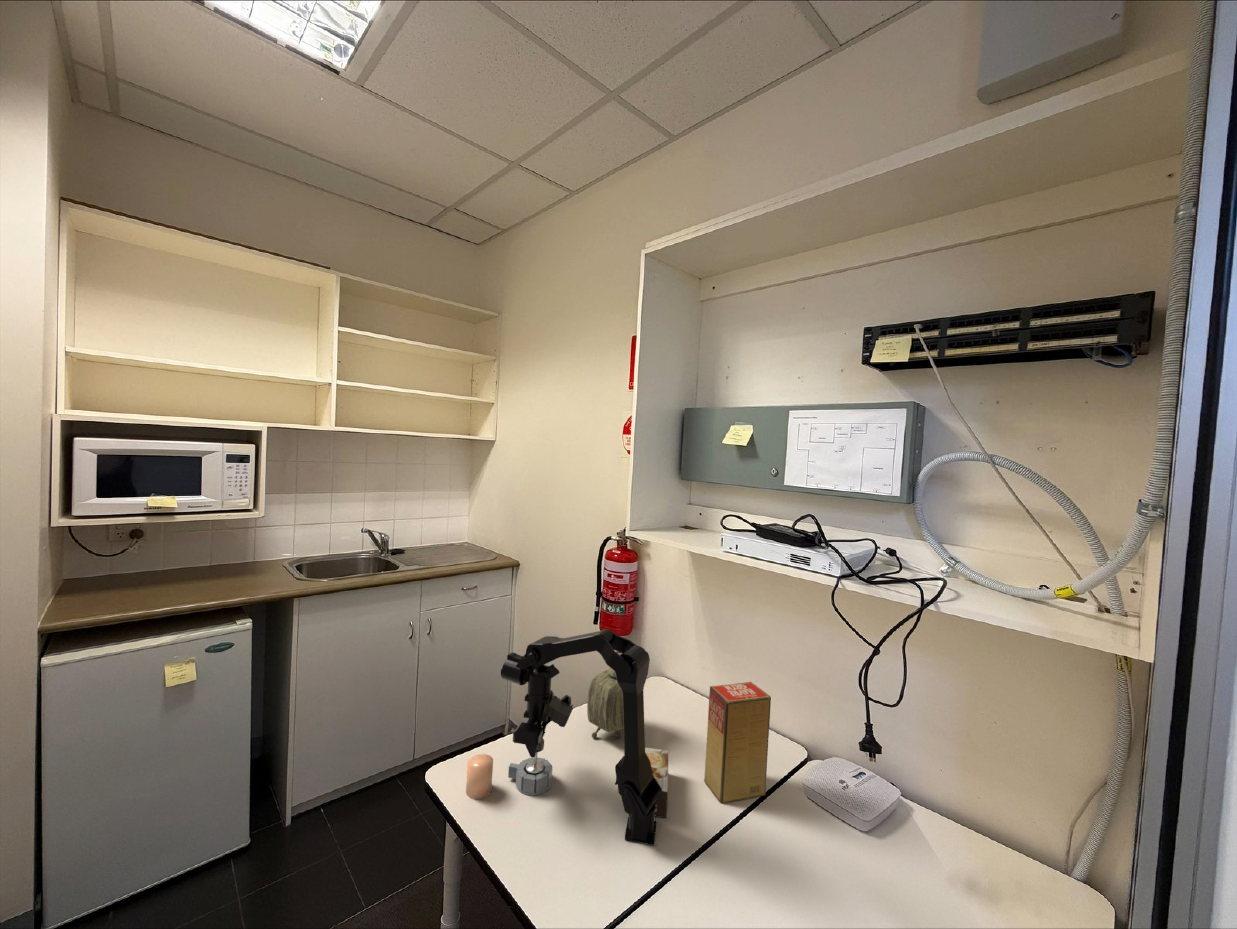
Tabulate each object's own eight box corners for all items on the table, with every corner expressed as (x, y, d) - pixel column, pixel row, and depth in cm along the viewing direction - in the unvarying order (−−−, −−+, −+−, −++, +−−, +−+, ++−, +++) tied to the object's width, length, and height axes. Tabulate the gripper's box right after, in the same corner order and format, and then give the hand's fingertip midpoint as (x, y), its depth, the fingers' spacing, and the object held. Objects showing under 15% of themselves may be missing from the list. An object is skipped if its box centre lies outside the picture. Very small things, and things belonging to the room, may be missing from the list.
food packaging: (746, 771, 129) (752, 680, 129) (767, 795, 120) (774, 697, 120) (702, 779, 125) (708, 684, 125) (720, 805, 116) (727, 703, 116)
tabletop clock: (617, 719, 151) (622, 641, 151) (640, 731, 145) (645, 650, 145) (585, 738, 140) (590, 653, 140) (608, 752, 134) (613, 663, 134)
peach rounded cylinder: (485, 801, 113) (487, 771, 113) (461, 797, 114) (463, 768, 114) (495, 783, 119) (497, 756, 119) (472, 780, 120) (474, 752, 120)
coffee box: (633, 769, 128) (626, 813, 112) (635, 745, 128) (628, 785, 112) (668, 774, 127) (666, 819, 111) (669, 750, 126) (668, 791, 111)
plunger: (540, 775, 117) (541, 747, 117) (523, 772, 118) (524, 745, 118) (545, 764, 122) (547, 737, 122) (529, 761, 122) (530, 735, 122)
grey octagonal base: (545, 798, 115) (546, 782, 115) (502, 790, 117) (503, 775, 117) (555, 774, 124) (556, 760, 124) (515, 767, 125) (516, 753, 125)
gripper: (560, 713, 109) (556, 781, 109) (579, 677, 128) (575, 735, 128) (513, 707, 111) (509, 773, 111) (539, 672, 129) (535, 729, 129)
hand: (535, 751), depth 120 cm, fingers closed on plunger, 4 cm apart
